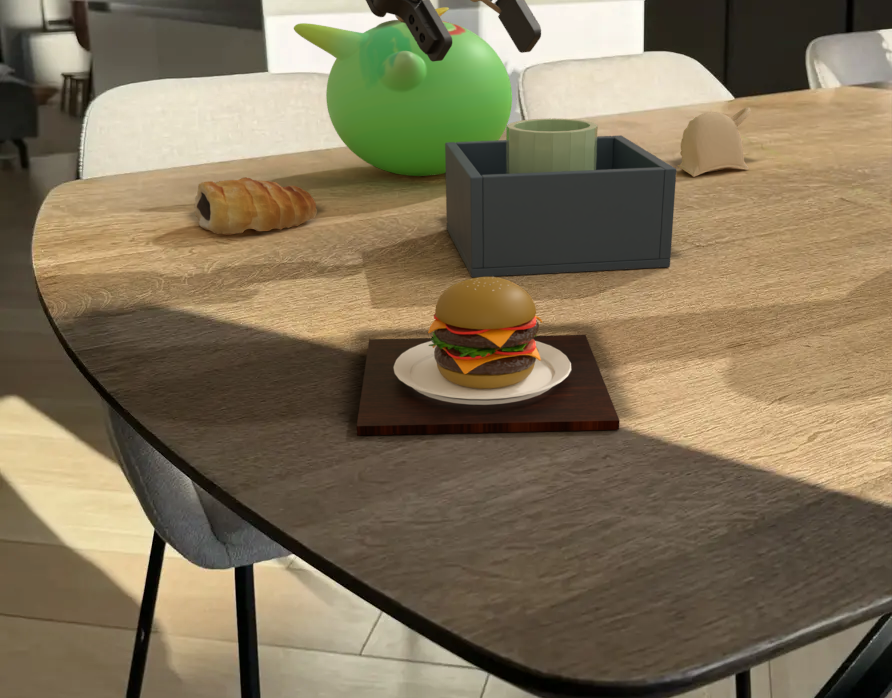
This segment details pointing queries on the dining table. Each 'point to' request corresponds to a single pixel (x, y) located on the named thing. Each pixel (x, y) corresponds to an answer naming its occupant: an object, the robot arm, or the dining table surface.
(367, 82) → the toy bird
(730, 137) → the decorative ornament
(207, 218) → the pastry
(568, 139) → the tub
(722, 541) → the dining table surface
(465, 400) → the hamburger
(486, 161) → the bin
